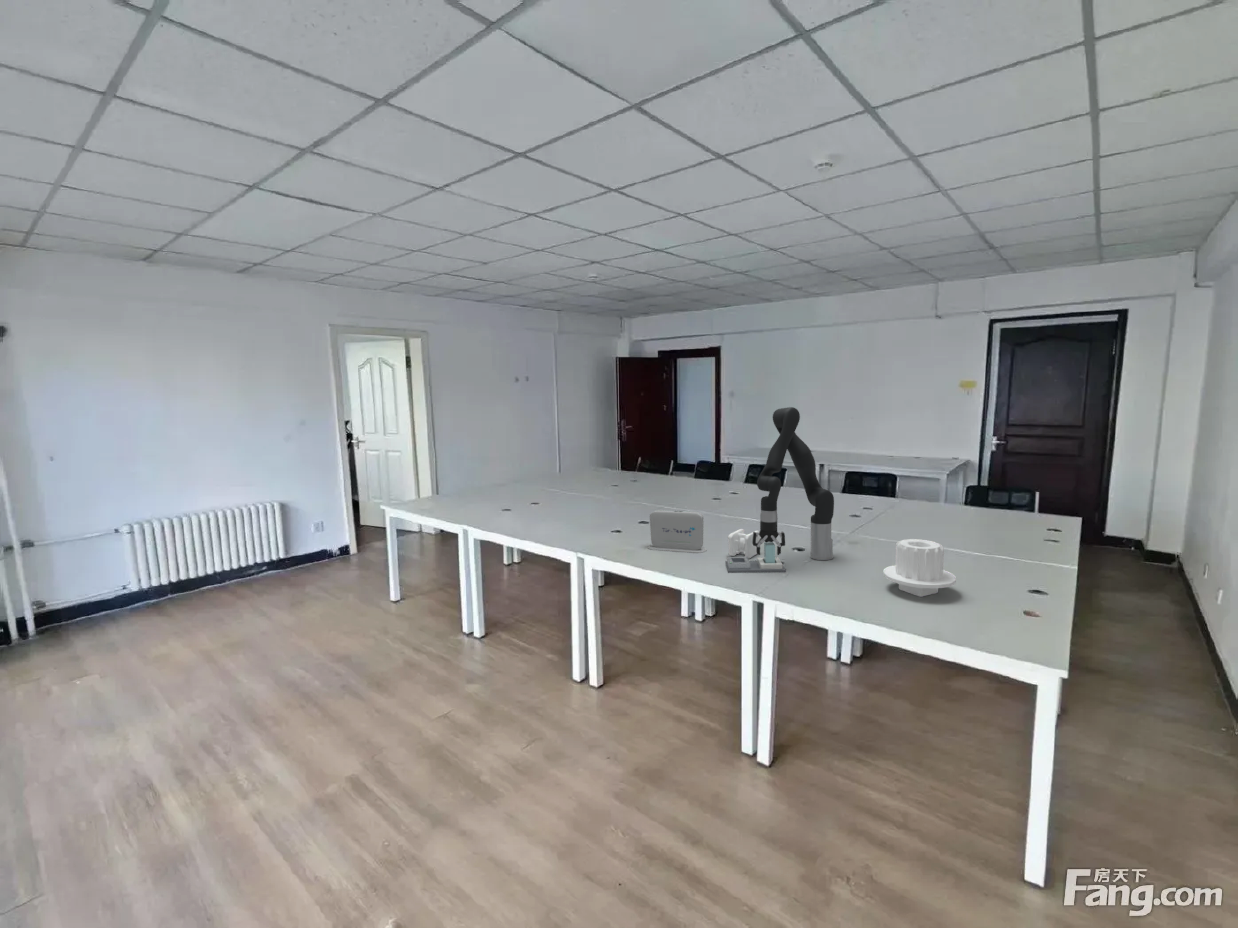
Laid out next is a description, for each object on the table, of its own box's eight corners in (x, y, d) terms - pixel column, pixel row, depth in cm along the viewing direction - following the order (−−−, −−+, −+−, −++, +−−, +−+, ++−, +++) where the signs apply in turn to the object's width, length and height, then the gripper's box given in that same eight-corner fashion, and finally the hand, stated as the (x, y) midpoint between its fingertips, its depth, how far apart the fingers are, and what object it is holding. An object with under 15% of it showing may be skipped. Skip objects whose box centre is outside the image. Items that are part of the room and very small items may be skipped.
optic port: (747, 561, 264) (747, 555, 263) (750, 568, 253) (750, 562, 253) (726, 562, 265) (726, 556, 264) (728, 569, 254) (728, 562, 254)
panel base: (779, 562, 264) (779, 560, 264) (785, 572, 250) (785, 569, 250) (725, 563, 267) (725, 560, 266) (728, 572, 253) (728, 570, 253)
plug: (773, 563, 260) (773, 542, 258) (775, 566, 255) (774, 545, 254) (764, 563, 260) (764, 542, 259) (766, 566, 255) (765, 545, 254)
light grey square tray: (778, 561, 262) (778, 557, 262) (782, 568, 252) (782, 564, 252) (757, 561, 263) (757, 557, 263) (760, 568, 253) (760, 564, 253)
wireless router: (645, 549, 295) (643, 512, 292) (651, 544, 304) (650, 508, 302) (704, 553, 283) (703, 514, 281) (708, 548, 292) (707, 510, 290)
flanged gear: (924, 607, 205) (925, 556, 203) (868, 586, 228) (869, 541, 226) (970, 595, 215) (972, 546, 213) (913, 576, 238) (914, 532, 236)
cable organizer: (747, 560, 269) (747, 536, 268) (727, 557, 276) (727, 534, 274) (760, 552, 281) (760, 529, 279) (741, 549, 287) (740, 527, 286)
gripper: (783, 517, 258) (783, 552, 260) (751, 517, 260) (751, 552, 262) (786, 521, 251) (786, 557, 253) (753, 521, 252) (753, 557, 254)
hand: (768, 554), depth 257 cm, fingers open, 8 cm apart
